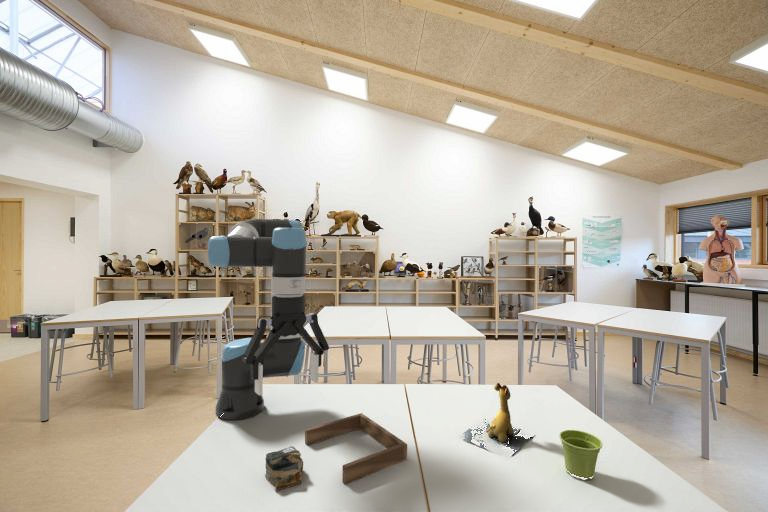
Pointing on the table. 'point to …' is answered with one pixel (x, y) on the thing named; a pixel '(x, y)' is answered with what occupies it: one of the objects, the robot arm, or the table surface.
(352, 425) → the box
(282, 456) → the rock
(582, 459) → the plant pot
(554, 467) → the table surface
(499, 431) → the stuffed giraffe
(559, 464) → the table surface
